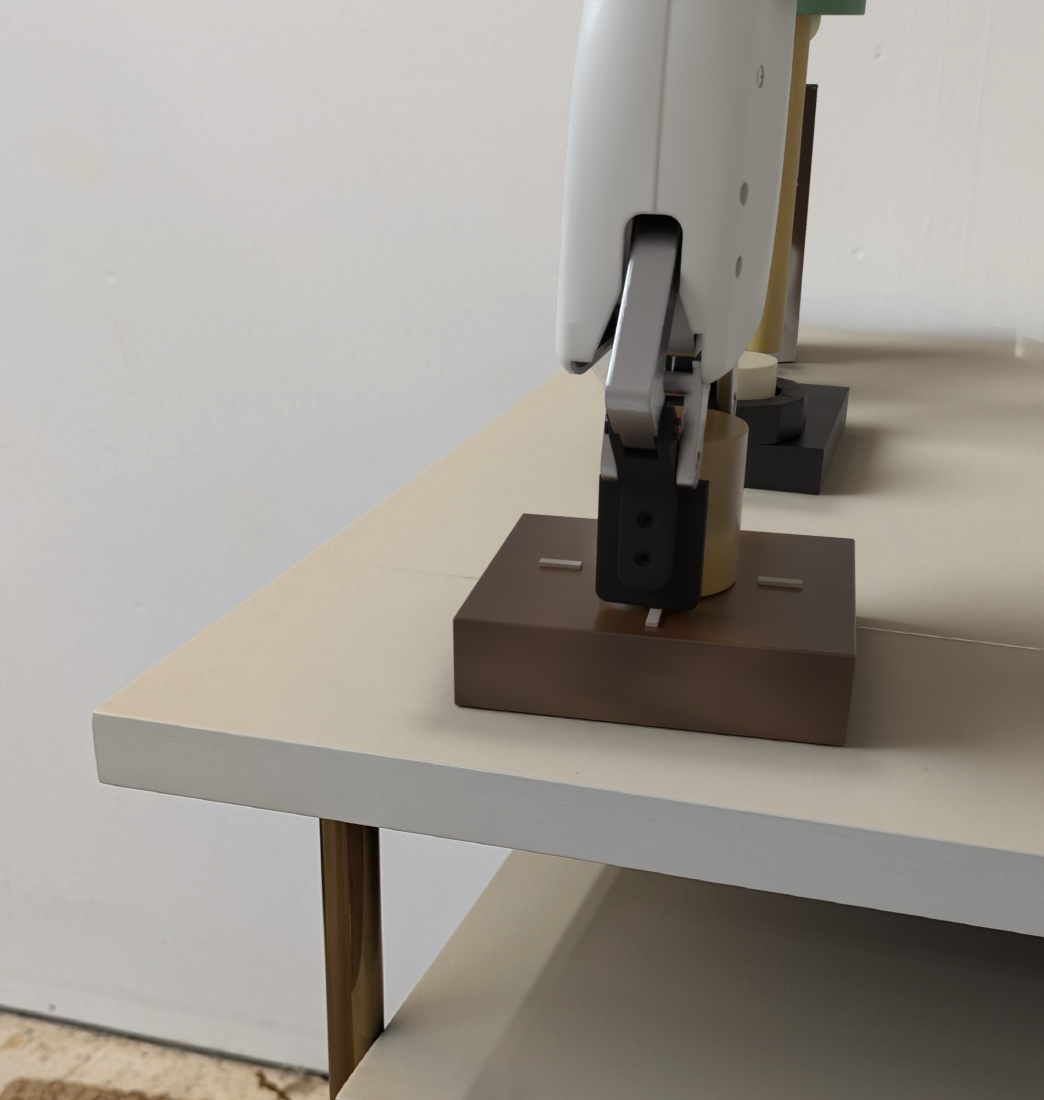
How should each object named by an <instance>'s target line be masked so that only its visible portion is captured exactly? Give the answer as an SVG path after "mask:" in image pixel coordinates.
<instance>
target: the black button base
mask: <svg viewBox="0 0 1044 1100" xmlns="http://www.w3.org/2000/svg"><path fill="white" fill-rule="evenodd" d="M850 389H851V388H850V387H849V386H841V385H828V384H815V383H803V382H802V383H801V382H797V381H795V380H793V379H788V378H784V377H781V376H780V377H779V376H777V379H776V390H775V396H774V397H771V398H767V399H754V400H737V404H736V412H735V416H736V417H738V418H740V419H742V420H743V421H745V422H746V423H747V425H748V428H749V432H748V444H747V456H746V468H745V480H744V489H749V490H761V491H770V492H781V493H789V494H801V495H812V496H820V494H821V492H822V489H823V487H824V484H825V481H826V479H827V476H828V473H829V471H830V468H831V466H832V463H833V460H834V458H835V455H836V452H837V450H838V448H839V444H840V442H841V440H842V437H843V434H844V431H845V429H846V425H847V415H848V407H849V399H850V398H849V397H850Z"/></svg>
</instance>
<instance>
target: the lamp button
mask: <svg viewBox="0 0 1044 1100" xmlns="http://www.w3.org/2000/svg"><path fill="white" fill-rule="evenodd" d="M778 367H779V362H778V360H777V359H776V358H775V357H773V356H770V355H767V354H763V353H758V352H751V351H744V352H743V354H742V355H741V357H740V358H739V360H738V384H737V400H754V399H767V398H771V397H774V396H775V390H776V379H777V377H778Z"/></svg>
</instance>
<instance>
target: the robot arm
mask: <svg viewBox="0 0 1044 1100" xmlns="http://www.w3.org/2000/svg"><path fill="white" fill-rule="evenodd" d="M796 9H797V0H583V3H582V10H581V15H580V22H579V29H578V35H577V44H576V51H575V52H576V53H575V59H574V69H573V77H572V85H571V86H572V87H571V97H570V107H569V120H568V130H567V143H566V157H565V169H564V171H565V174H564V184H563V185H564V187H563V188H564V189H563V205H562V217H561V220H562V221H561V237H560V251H559V266H558V267H559V269H558V283H557V284H558V287H557V300H556V301H557V303H556V319H555V321H556V322H555V342H554V343H555V344H554V345H555V347H554V348H555V351H554V352H555V356H556V358H557V360H558V363H559V364H560V365H561V366H562V368H563V369H564V370H565V371H566V372H567V373H568V374H570V375H578V376H579V375H583V374H585V373H586V372H588V371H589V370H590V369H591V367H592V366H593V365H594V364H595V363H596V362H598V361H599V360H600V359H601V358H602V357H603V356H604V355H605V354H606V353H607V352H609V351H610V350H611V349H612V354H611V360H610V366H609V371H608V376H607V381H606V384H605V388H604V405H605V415H604V424H603V436H602V444H601V454H600V466H599V467H600V468H599V470H600V474H599V475H598V498H597V499H598V502H597V505H598V506H597V519H598V525H597V554H596V582H595V590H596V594H597V596H598V597H599V598H600V599H601V600H603V601H606V602H612V603H621V604H629V605H637V606H646V607H654V608H663V609H671V610H680V611H690V610H693V609H694V608H695V607H696V606H697V604H698V602H699V600H700V597H701V591H702V577H703V564H704V550H705V537H706V523H707V510H708V496H709V483H710V480H700V479H699V475H700V467H701V459H702V450H703V441H704V432H705V423H706V415H707V409H711V410H716V411H721V412H724V413H728V414H731V415H734V416H735V412H736V404H737V384H738V360H739V358H740V357H741V355H742V354H743V352H744V351H745V349H746V348H747V346H748V345H749V343H750V342H751V340H752V338H753V337H754V335H755V333H756V332H757V330H758V328H759V325H760V323H761V319H762V316H763V311H764V306H765V300H766V294H767V288H768V282H769V275H770V268H771V261H772V254H773V247H774V239H775V231H776V223H777V215H778V207H779V198H780V189H781V180H782V171H783V161H784V150H785V140H786V130H787V118H788V107H789V95H790V84H791V71H792V58H793V46H794V33H795V21H796ZM672 356H676V357H675V362H674V367H673V371H672ZM674 406H684V407H683V416H682V421H681V418H677V413H676V409H675V407H674ZM678 426H681V433H679V427H678Z"/></svg>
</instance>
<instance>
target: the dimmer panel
mask: <svg viewBox="0 0 1044 1100" xmlns="http://www.w3.org/2000/svg"><path fill="white" fill-rule="evenodd" d="M597 525H598V518H589V517H577V516H566V515H565V516H563V515H550V514H549V515H548V514H540V513H539V514H538V513H525V512H524V513H522V514H521V515H520V517H519V518H518V520H517V522H516V523H515V524H514V526H513V528H512V529H511V531H510V532H509V533H508V535H507V536H506V538H505V540H504V541H503V543H502V545H501V546H500V547H499V549H498V550H497V552H496V553H495V554H494V556H493V558H492V559H491V561H490V562H489V564H488V566H487V567H485V570H484V571H483V572H482V574H481V576H480V577H479V579H478V580H477V582H476V583H475V585H474V586H473V588H472V589H471V591H470V592H469V594H468V595H467V597H466V598H465V600H464V601H463V603H462V604H461V606H460V607H459V608H458V610H457V612H456V613H455V615H454V616H453V618H452V655H453V656H452V657H453V659H452V660H453V700H454V705H456V706H461V707H471V708H480V709H488V710H489V709H490V710H497V711H498V710H499V711H508V712H509V711H510V712H518V713H528V714H535V715H545V716H546V715H547V716H556V717H565V718H575V719H585V720H593V721H603V722H611V723H612V722H613V723H622V724H629V725H630V724H631V725H640V726H651V727H660V728H670V729H679V730H688V731H697V732H707V733H716V734H724V735H725V734H727V735H736V736H744V737H752V738H762V739H763V738H764V739H773V740H781V741H792V742H801V743H810V744H820V745H822V744H823V745H829V746H839V747H844V746H845V744H846V740H847V732H848V726H849V718H850V710H851V702H852V696H853V695H852V694H853V687H854V686H853V685H854V679H855V672H856V664H857V604H856V602H857V599H856V597H857V595H856V593H857V592H856V589H857V588H856V540H855V539H854V538H851V537H850V538H849V537H836V536H823V535H812V534H810V535H809V534H799V533H786V532H785V533H784V532H773V531H772V532H771V531H759V530H758V531H757V530H747V529H740V541H739V553H738V565H737V576H736V580H735V581H734V583H733V584H732V585H731V586H730V587H729V588H727V589H725V590H723V591H721V592H719V593H716V594H713V595H708V596H704V597H700V600H699V602H698V604H697V606H696V607H695V608H694V609H693V610H690V611H680V610H671V609H663V608H654V607H646V606H637V605H629V604H621V603H612V602H606V601H603V600H601V599H600V598H599V597H598V596H597V594H596V590H595V582H596V554H597Z"/></svg>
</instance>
